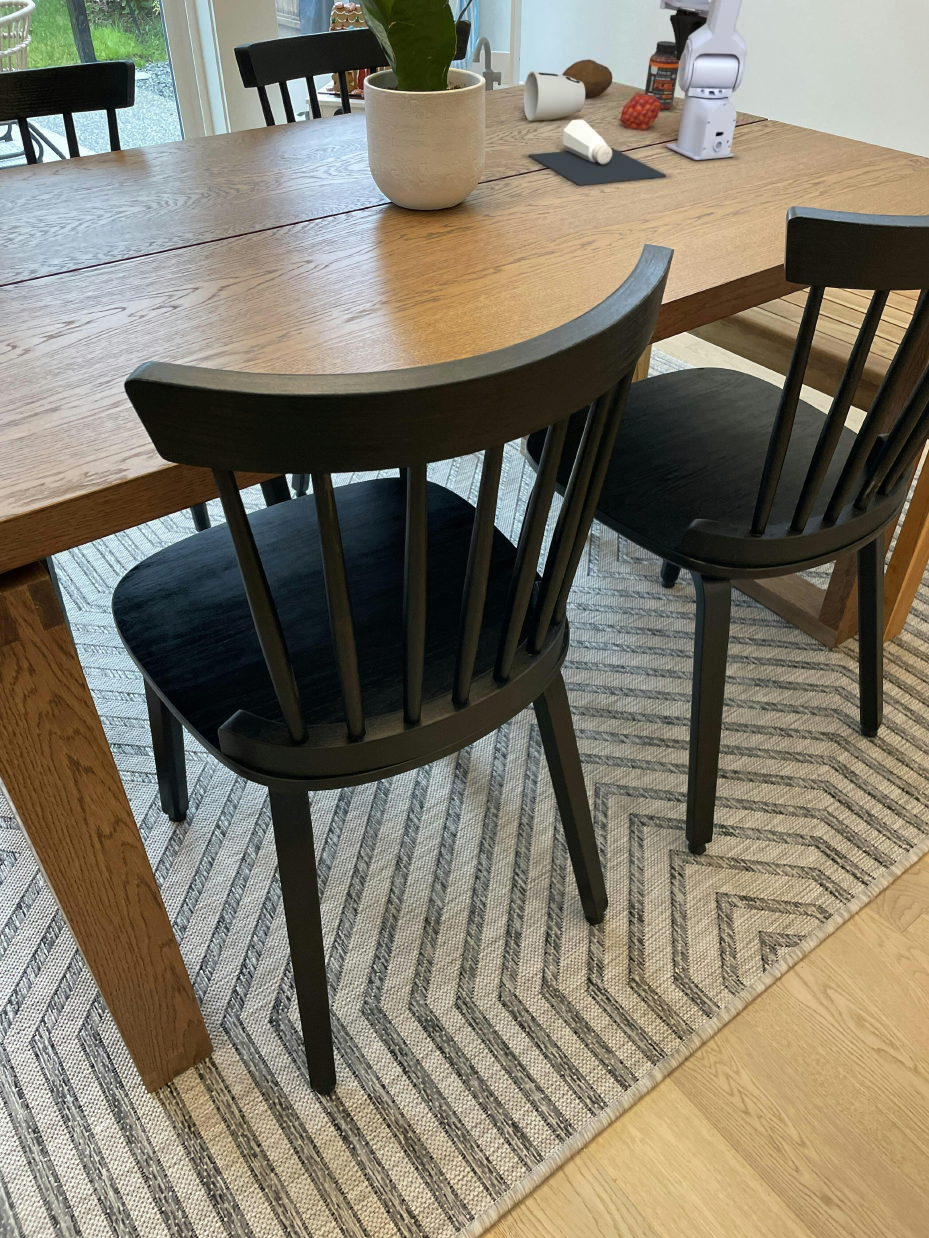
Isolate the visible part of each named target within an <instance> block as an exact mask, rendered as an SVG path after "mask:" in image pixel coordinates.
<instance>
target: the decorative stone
mask: <svg viewBox="0 0 929 1238" xmlns="http://www.w3.org/2000/svg"><path fill="white" fill-rule="evenodd" d="M661 105H662V103H661V102H660V101H659V100H658V99H657V98H656V97H655V96H654V95H647V94H645V93H635V94H634V95H633V97H632V98H630V100H629V101H627V103H625V104H624V105H623V108H622V111H621V114H620V118H619V121H620V122H621V123H622V124H623V125H624V126H625V127H626V128H627V129H630V130H637V131H646V130H647V129H648V128H649V127H650V126H651V125H652V124H653V123H654V122H655V121H656V120H657V119H658V118H659V115H660V111H661V110H660V108H661Z"/></svg>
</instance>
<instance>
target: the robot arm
mask: <svg viewBox="0 0 929 1238" xmlns="http://www.w3.org/2000/svg"><path fill="white" fill-rule="evenodd" d="M742 2H743V0H710V1H709V0H660V4H659V9H661V10H670V11H674V12H675V14H671V15H669V21H670V24H671V27H672V31H673V35H674V42H675V44H676V59H677V60H679V61H680V62H679V69H678V75H677V83H678V87H679V88H680V90H681V91H682V92H683V93H684V97H683V102H682V103H683V104H682V110H681V115H680V116H681V117H680V124H679V129H678V135H677V142H674V143H666V148H668V149H670V150H672V151H675V152H677V153H679V154H681V155H683V156H685V157H687V158H690V159H692V160H694V161H703V160H712V159H724V158H732V157H734V156H735V155H734V154H735V153H733V152H731V149H732V145H733V139H734V134H735V129H736V123H737V118H738V117H737V109H736V107H735V105H733V104H732V103H731V102H730V100H729V98H731V97H732V95H733V93H735V92H737V90H738V89H739V87H740V86H741V84H742V81H743V77H744V73H745V68H746V67H745V66H746V57H747V52H748V47H747V42H746V40H745V38H744V36H743V35H742V34H741V33H740V32H739V31H738V30H737V29H736V26H737V22H738V19H739V15H740V11H741V6H742Z"/></svg>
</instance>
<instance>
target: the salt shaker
mask: <svg viewBox="0 0 929 1238" xmlns="http://www.w3.org/2000/svg"><path fill="white" fill-rule="evenodd" d="M561 144H562V146H563V147H564V149H565V150H566V151H569V152H572V153H574V154H576V155H578V156H580V157H582V158H584V159H586V160H588V161H591V162H598V163H600V164H606V163H608V162H609V161H610V159H611V157H612V150H611V148H612V147H611V148H610V146H609V145H608V144H607V142H606V141H605V140H604V139H603V137H602V136H601V135H600V134H599V133H597V131H596V130H594V129H593V128H592V127H591V125H589V123H587V122H586V121H585V119H572V120H571V121H569V123H568V124H567V125H566V126H565V127H564V129H563V130H562V140H561Z"/></svg>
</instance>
